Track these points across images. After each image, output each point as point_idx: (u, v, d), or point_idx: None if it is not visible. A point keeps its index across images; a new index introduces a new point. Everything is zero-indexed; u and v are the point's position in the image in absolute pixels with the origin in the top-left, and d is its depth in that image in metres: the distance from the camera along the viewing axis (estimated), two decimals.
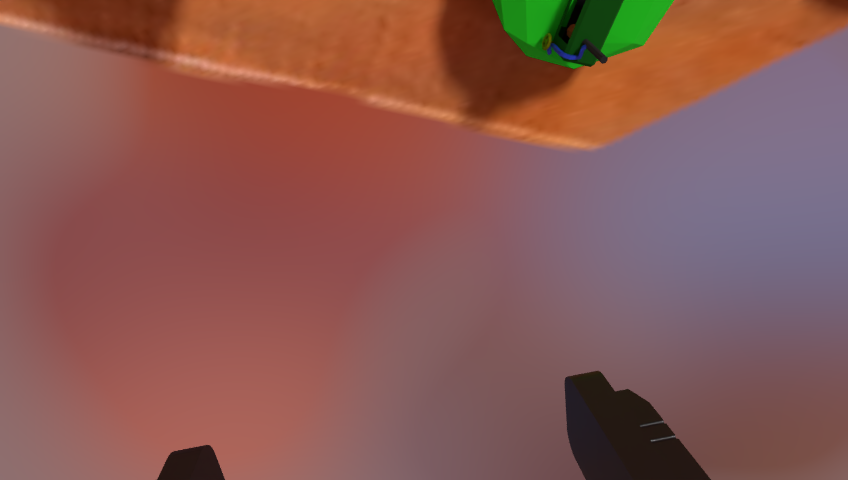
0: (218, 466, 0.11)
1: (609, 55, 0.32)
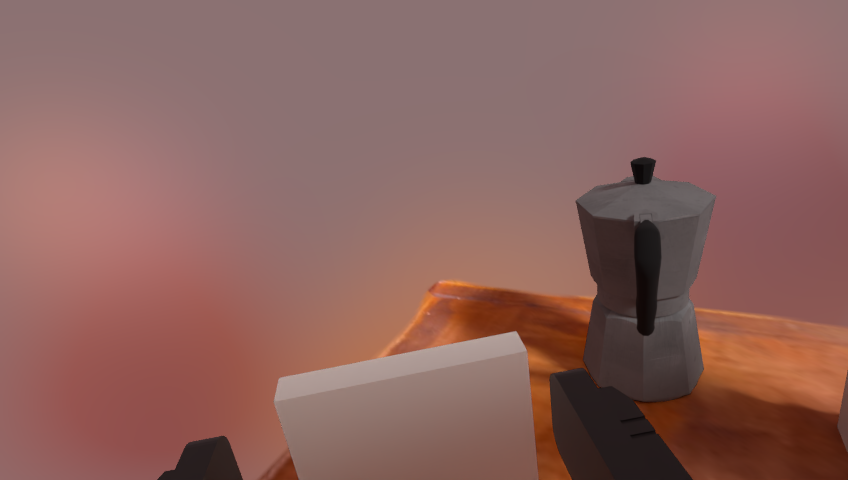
0: (233, 457, 0.11)
1: None
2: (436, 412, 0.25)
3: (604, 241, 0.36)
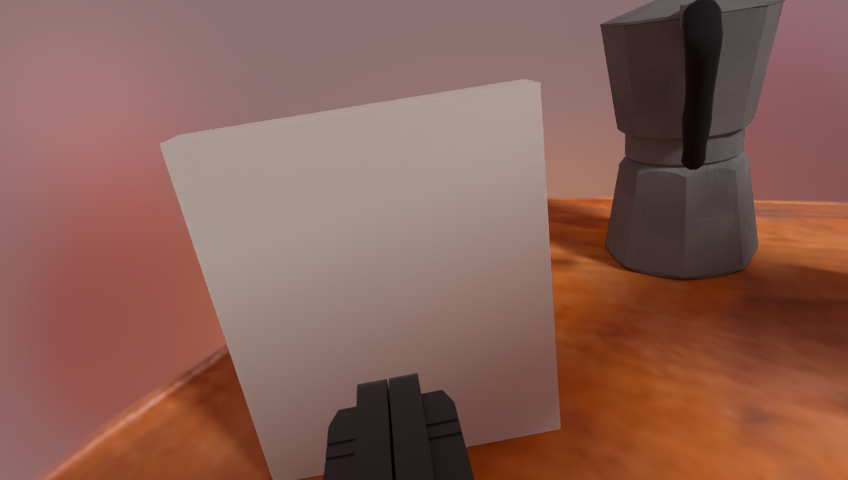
0: None
1: None
2: (405, 182, 0.17)
3: (638, 58, 0.28)
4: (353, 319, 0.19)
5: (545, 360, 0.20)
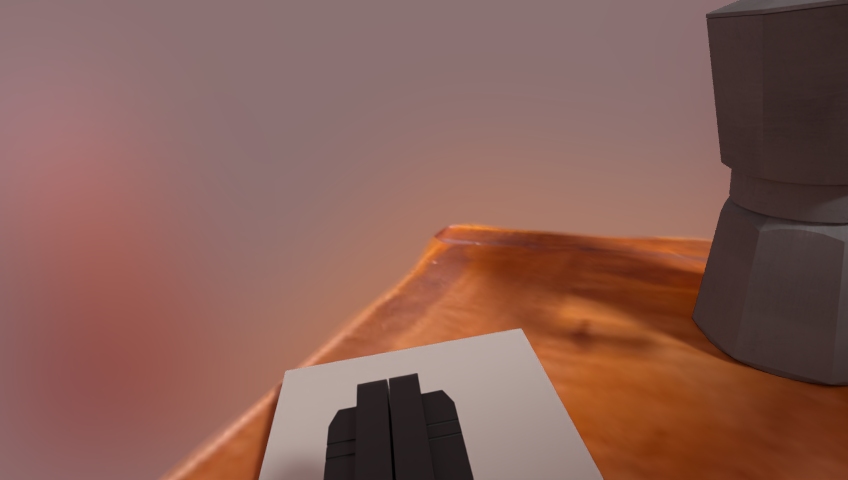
0: None
1: None
2: (436, 374, 0.23)
3: (781, 65, 0.18)
4: None
5: None
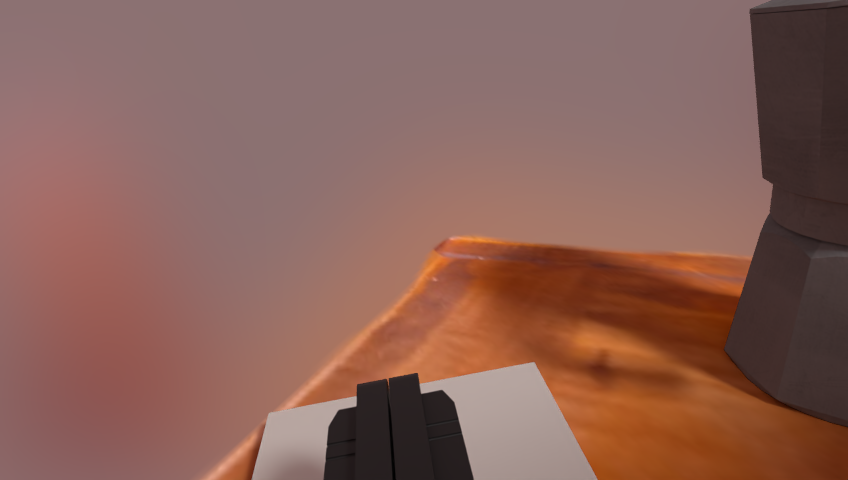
0: None
1: None
2: None
3: (847, 68, 0.16)
4: None
5: None
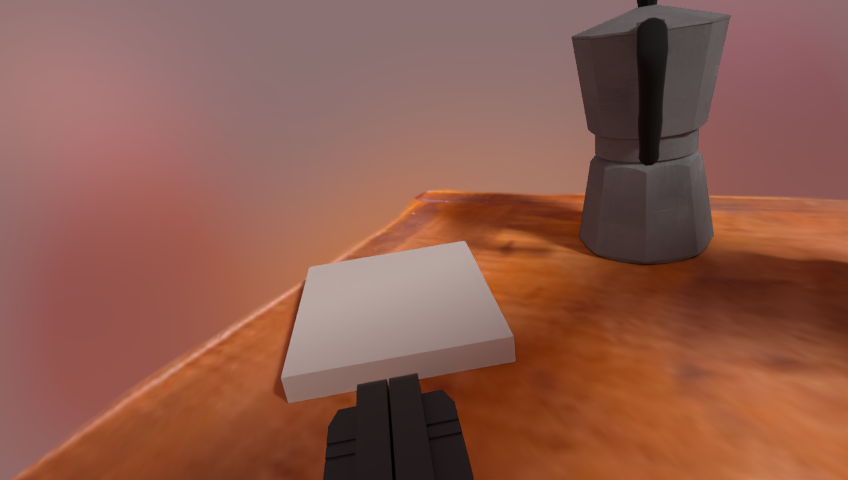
0: None
1: None
2: (406, 263, 0.37)
3: (603, 68, 0.32)
4: (370, 300, 0.32)
5: (489, 305, 0.30)
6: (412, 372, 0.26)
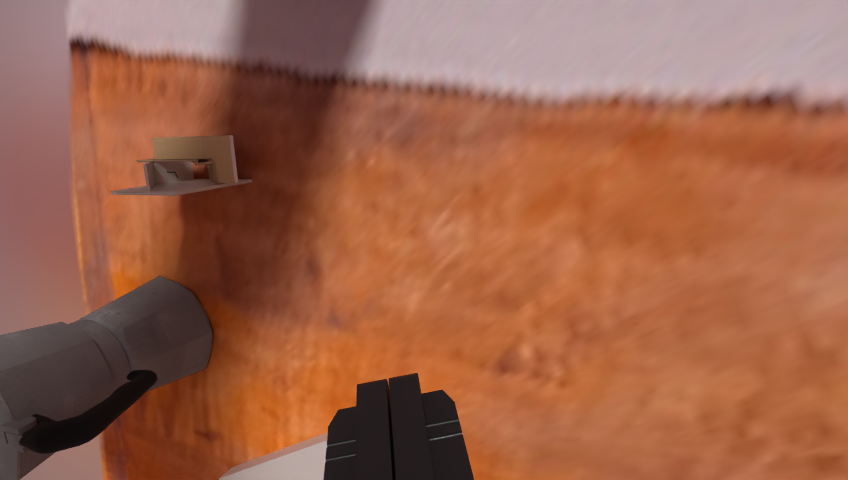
0: None
1: None
2: None
3: None
4: None
5: (309, 452, 0.39)
6: None
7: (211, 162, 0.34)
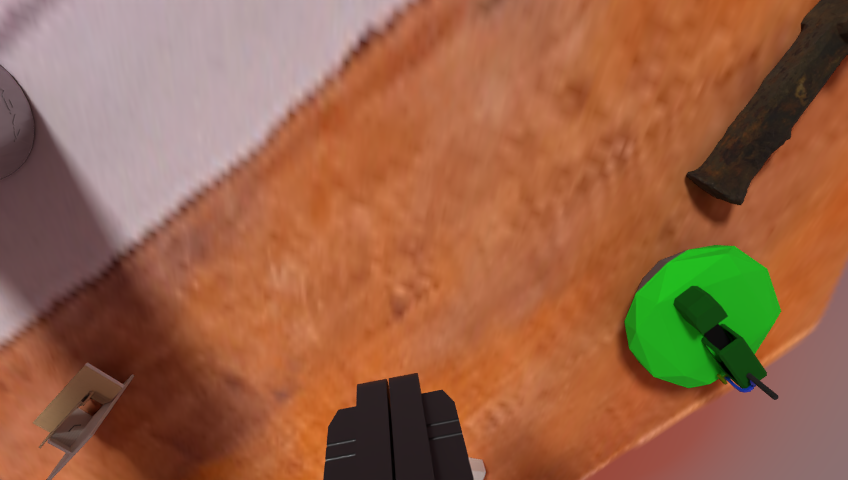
0: None
1: (765, 335, 0.40)
2: None
3: None
4: None
5: None
6: None
7: (92, 392, 0.38)
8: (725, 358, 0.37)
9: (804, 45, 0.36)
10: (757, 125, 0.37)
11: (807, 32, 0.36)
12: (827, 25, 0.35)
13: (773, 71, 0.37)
